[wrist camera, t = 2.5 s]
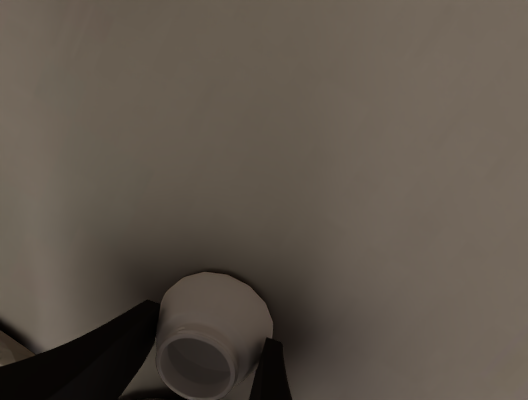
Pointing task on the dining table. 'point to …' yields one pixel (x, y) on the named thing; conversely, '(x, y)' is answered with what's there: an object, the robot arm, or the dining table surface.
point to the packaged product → (12, 350)
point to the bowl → (154, 399)
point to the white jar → (210, 335)
